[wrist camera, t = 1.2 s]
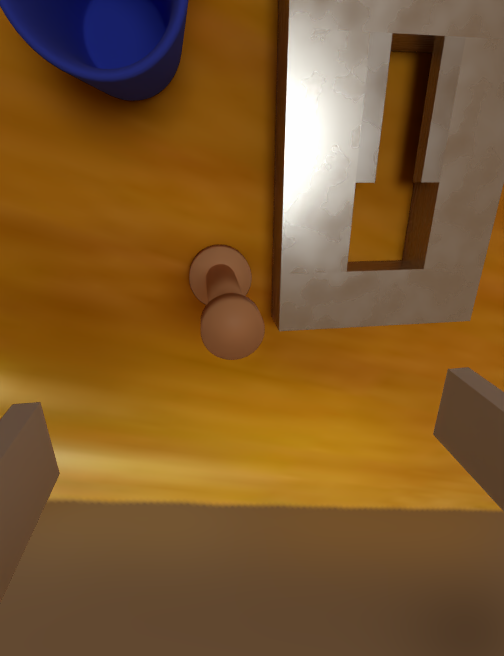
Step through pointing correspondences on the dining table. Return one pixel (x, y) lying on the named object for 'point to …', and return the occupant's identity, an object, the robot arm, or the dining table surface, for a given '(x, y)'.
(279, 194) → the keyhole plate
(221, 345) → the headed peg
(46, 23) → the mug
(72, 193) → the dining table surface
